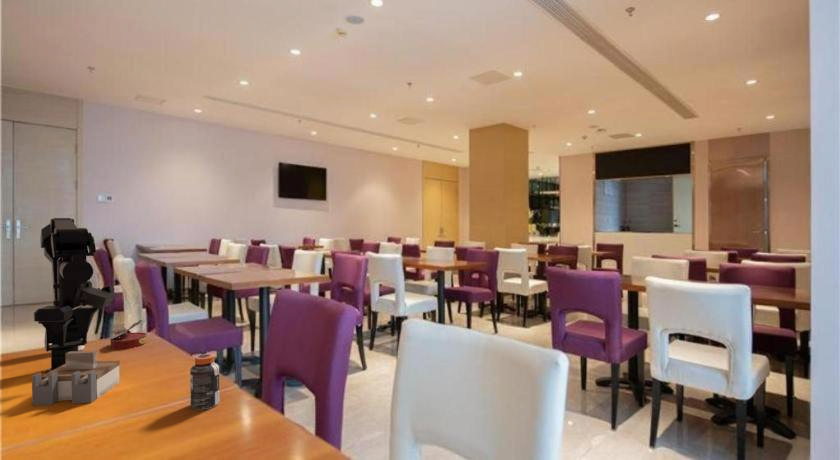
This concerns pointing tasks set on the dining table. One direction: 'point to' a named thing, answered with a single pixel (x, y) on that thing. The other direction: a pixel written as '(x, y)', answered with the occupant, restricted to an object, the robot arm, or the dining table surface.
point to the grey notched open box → (72, 388)
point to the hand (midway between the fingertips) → (73, 340)
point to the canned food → (128, 339)
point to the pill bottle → (204, 382)
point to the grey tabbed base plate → (81, 367)
